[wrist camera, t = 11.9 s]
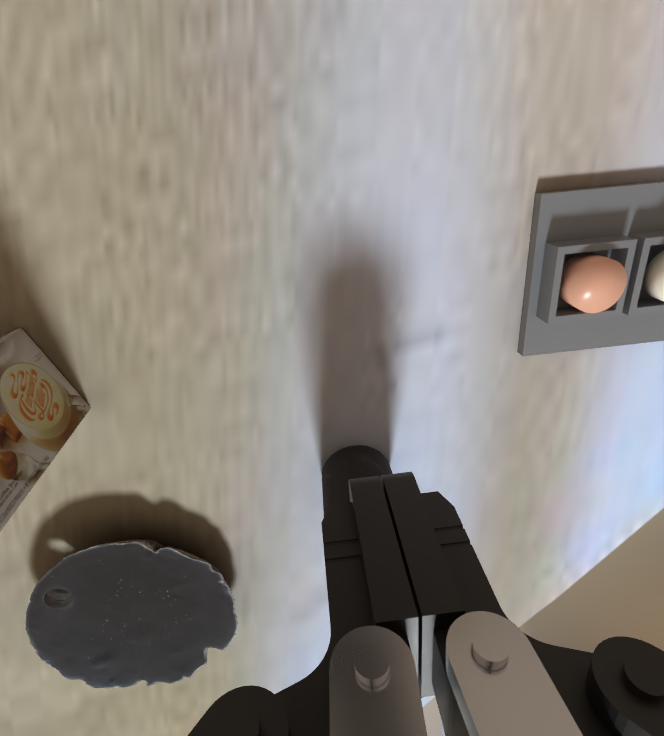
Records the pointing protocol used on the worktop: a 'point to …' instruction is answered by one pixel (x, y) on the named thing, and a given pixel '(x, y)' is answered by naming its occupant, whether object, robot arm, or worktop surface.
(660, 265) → the cream button
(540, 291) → the button panel
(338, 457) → the travel mug
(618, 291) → the terracotta button
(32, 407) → the coffee box
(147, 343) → the worktop surface
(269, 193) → the worktop surface
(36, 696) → the worktop surface
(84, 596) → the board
